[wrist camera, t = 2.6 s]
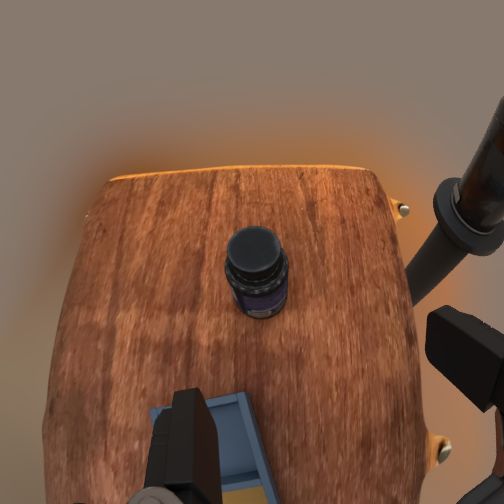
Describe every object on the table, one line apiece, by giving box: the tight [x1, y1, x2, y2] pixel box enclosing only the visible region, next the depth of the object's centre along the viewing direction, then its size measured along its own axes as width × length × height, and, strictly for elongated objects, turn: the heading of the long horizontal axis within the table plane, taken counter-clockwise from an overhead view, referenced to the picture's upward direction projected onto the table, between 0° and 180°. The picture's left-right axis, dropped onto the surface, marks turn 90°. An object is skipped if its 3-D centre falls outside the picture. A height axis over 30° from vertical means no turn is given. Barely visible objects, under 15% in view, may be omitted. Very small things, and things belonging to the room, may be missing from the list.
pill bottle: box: [225, 226, 289, 319], centre depth 30 cm, size 6×6×11 cm
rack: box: [149, 391, 282, 504], centre depth 22 cm, size 10×18×5 cm, turn 14°
